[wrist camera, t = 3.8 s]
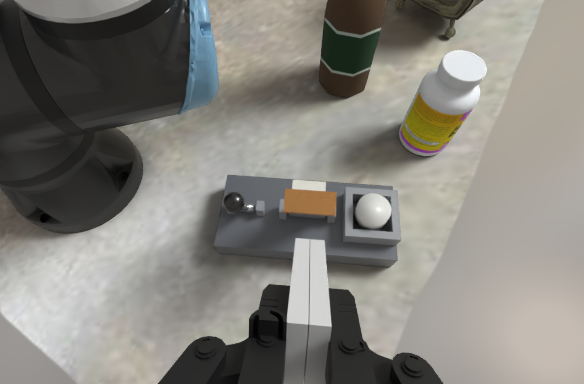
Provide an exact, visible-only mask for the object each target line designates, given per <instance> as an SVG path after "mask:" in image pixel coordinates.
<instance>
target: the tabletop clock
mask: <svg viewBox="0 0 584 384" xmlns="http://www.w3.org/2000/svg"><path fill="white" fill-rule="evenodd" d="M412 1H413V2H415V3H416V4H418V5H419V6H421V7H422V8H424V9H426V10H428V11H430V12H432V13H434V14H437V15H439V16H441V17H443V18H446V19H451V20H450V27H449V28H448V29H447V30H446V31H445V36H446V37H447V38H451V37H453V36H454V35H455V32H456V31H455V29H454V28H453V25H454V22H455V20H458V19H459V18H461V17H462V16H463V15H464V14H466V13H467V12H468V11H470V10H471V9H472V8H474V7H475V6H476V5H478V4H479V3H480V2H482V1H483V0H412ZM395 5H396V7H397V8H402V7H403V6H404V5H405V0H397V1H396V4H395Z"/></svg>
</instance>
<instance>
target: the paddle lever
mask: <svg viewBox="0 0 584 384" xmlns="http://www.w3.org/2000/svg"><path fill="white" fill-rule="evenodd" d="M336 196H337V192H327V191H313V190H299V189H285V197H284V210H283V212H284V213H289V216H293V217H307V218H320V219H325V216H335V213H336Z"/></svg>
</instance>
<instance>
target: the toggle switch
mask: <svg viewBox="0 0 584 384" xmlns="http://www.w3.org/2000/svg"><path fill="white" fill-rule="evenodd" d="M223 205H224V208H225V209H226V210H227V211H229V212H231V213H237V212H239V211H241V212H255V204H252V203H245V200H244V197H243V196H242V195H241V194H240V193H238V192H229V193H228V194H226V195H225V197H224V199H223Z"/></svg>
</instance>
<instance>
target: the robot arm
mask: <svg viewBox="0 0 584 384" xmlns="http://www.w3.org/2000/svg"><path fill="white" fill-rule="evenodd" d="M217 92H218V66H217V57H216V50H215V43H214V37H213V34H212V31H211V22H210V14H209V9H208V4H207V0H0V187H1V189H2V190H3V192H4V193H5V194H6V196H7V197H8V198H9V200H10V201H11V202H12V204H13V205H14V207H15V208H16V209H17V211H18V212H19V213H20V214H21V215H22V216H23V217H25V218H26V219H27V220H29V221H31V222H32V223H34V224H36V225H38V226H40V227H42V228H44V229H46V230H49V231H53V232H58V233H75V232H81V231H85V230H89V229H92V228H94V227H97V226H99V225H101V224H103V223H105V222H107V221H108V220H110V219H111V218H113V217H114V216H116V215H117V214H118V213H119V212H121V211H122V210H123V209H124V208H125V207H126V206H127V205H128V203H129V202H130V201H131V200H132V198H133V197H134V195H135V194H136V192H137V190H138V188H139V186H140V183H141V179H142V175H143V163H142V158H141V155H140V153H139V151H138V150H137V148H136V147H135V145H134V144H133V143H132V141H131V140H130V139H129V138H128V137H127V136H126V135H125V134H124V133H123V132H121V131H120V130H118V129H117V128H115V127H120V126H125V125H129V124H134V123H138V122H143V121H148V120H152V119H157V118H162V117H166V116H171V115H176V114H178V115H179V114H183V113H184V112H185V111H187V110H191V109H194V108H197V107H201V106H204V105H207V104H209V103H210V102H211V101H213V100H214V98H215V97H216V95H217ZM303 382H304V384H325V382H326V384H443V382H441V380H440V378H439V377H438V375H437V374H436V373H435V371H434V370H433V368H432V367H431V366H430V365H429V364H428V363H427V362H426V360H424V359H423V358H421V357H419V356H417V355H414V354H412V353H400V354H397V355H396V356H395V357H394V358H393V360H391V359H388V358H385V357H382V356H380V355H378V354H376V353H374V352H373V351H371V350H370V349H369V348H368V345H367V343H366V342H365V341H364V340H363V338H362V333H361V328H360V324H359V319H358V314H357V309H356V304H355V299H354V296H353V295H352V294H351V293H350V292H349V290H343V289H331V288H328V276H327V264H326V252H325V240H314V239H301V238H296V239H295V248H294V257H293V267H292V276H291V285H290V286H285V285H272V284H269V285H268V286H267V287H266V288H265V289H264V290H263V293H262V297H261V301H260V306H259V310H257V311H255V312H254V313H253V314H252V315H251V316H250V318H249V337H248V338H247V339H246V340H244V341H242V342H240V343H236V344H231V345H225V343H224V342H223V341H222V340H221V339H219V338H217V337H212V336H207V337H201V338H199V339H197V340H195V341H194V342H192V343H191V344H190V345H189V346H188V347H187V349H186V350H185V351H184V352H183V354H182V355H181V356H180V357H179V358H178V360H177V361H176V362H175V363H174V365H173V366H172V367H171V368H170V370H169V371H168V372H167V373H166V375H165V376H164V377H163V378H162V379H161V381H160V382H159V383H158V384H303Z"/></svg>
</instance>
